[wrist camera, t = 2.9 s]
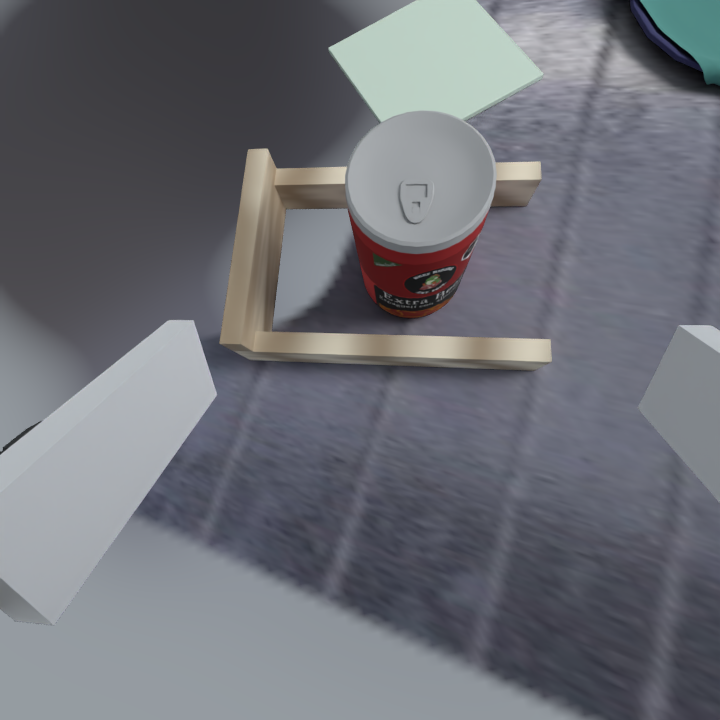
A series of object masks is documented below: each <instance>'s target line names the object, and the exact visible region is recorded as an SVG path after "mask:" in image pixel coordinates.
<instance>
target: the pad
mask: <svg viewBox="0 0 720 720" xmlns="http://www.w3.org/2000/svg"><path fill="white" fill-rule="evenodd" d="M328 49H329V53H330V54H331V56H332V57H333V59H334V60H335V62H336V63H337V64H338V66H339V67H340V68H341V70H342V71H343V73H344V74H345V76H346V77H347V78H348V80H349V81H350V83H351V84H352V85H353V87H354V88H355V90H356V91H357V92H358V94H359V95H360V96H361V98H362V99H363V101H364V102H365V104H366V105H367V106H368V108H369V109H370V111H371V112H372V113H373V115H374V116H375V118H376V119H377V120H378V122H379V123H381V122H383V121H385V120H387V119H389V118H391V117H393V116H396V115H399V114H403V113H406V112H413V111H421V110H423V111H437V112H442V113H446V114H450V115H453V116H455V117H457V118H460V119H462V120H464V121H466V120H468V119H470V118H472V117H473V116H475V115H477V114H479V113H481V112H482V111H484V110H486V109H488V108H490V107H492V106H493V105H495V104H497V103H499V102H501V101H503V100H504V99H506V98H508V97H510V96H512V95H513V94H515V93H517V92H519V91H521V90H523V89H524V88H526V87H528V86H530V85H532V84H534V83H535V82H537V81H539V80H541V79H542V78H543V75H544V74H543V73H542V72H541V71H540V70H539V68H538V67H537V66H536V65H535V64H534V63H533V62H532V61H531V60H530V59H529V58H528V57H527V55H526V54H525V53H524V52H523V51H522V50H521V49H520V48H519V47H518V46H517V45H516V43H515V42H514V41H513V40H512V39H511V38H510V37H509V36H508V35H507V34H506V33H505V32H504V30H503V29H502V28H501V27H500V26H499V25H498V24H497V23H496V22H495V21H494V20H493V18H492V17H491V16H490V15H489V14H488V13H487V12H486V11H485V10H484V9H483V8H482V7H481V5H480V4H479V3H478V2H477V1H476V0H416V1H414V2H413V3H411V4H409V5H407V6H405V7H403V8H402V9H400V10H398V11H396V12H394V13H392V14H390V15H389V16H387V17H385V18H383V19H381V20H379V21H377V22H376V23H374V24H372V25H370V26H368V27H366V28H365V29H363V30H361V31H359V32H357V33H355V34H353V35H352V36H350V37H348V38H346V39H345V40H342V41H341V42H339V43H337V44H335V45H333V46H332V47H329V48H328Z"/></svg>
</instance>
